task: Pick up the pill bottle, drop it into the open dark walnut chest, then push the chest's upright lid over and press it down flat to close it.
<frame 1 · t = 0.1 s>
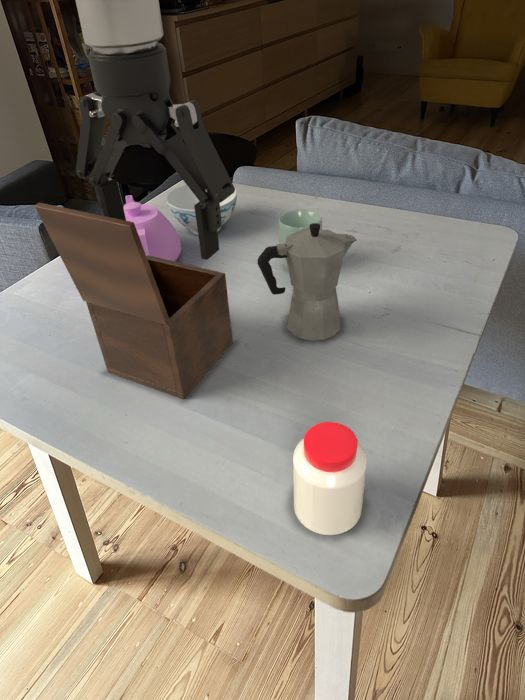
hand: (163, 243, 65), 23 cm above the table, tool pointing down, fingers open, 13 cm apart
chinaware: (206, 229, 118), on the table
teapot: (144, 261, 108), on the table
cup: (300, 267, 103), on the table
lid: (105, 266, 65), point 21 cm above the table, hinge at 100.0°
coffeepot: (307, 327, 88), on the table
chest: (171, 357, 84), on the table
pill bottle: (327, 506, 61), on the table
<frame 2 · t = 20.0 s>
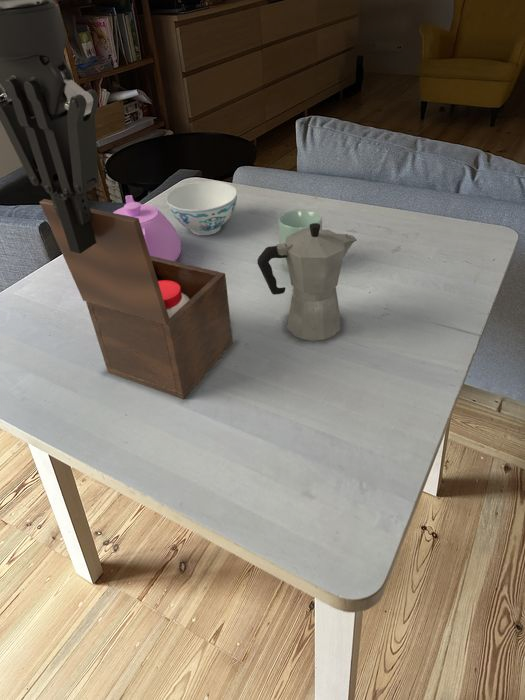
hand: (83, 246, 61), 25 cm above the table, tool pointing down, fingers closed
lid: (107, 264, 65), point 21 cm above the table, hinge at 96.7°, touching gripper
pill bottle: (173, 350, 84), point 1 cm above the table, touching chest
everything else where it was.
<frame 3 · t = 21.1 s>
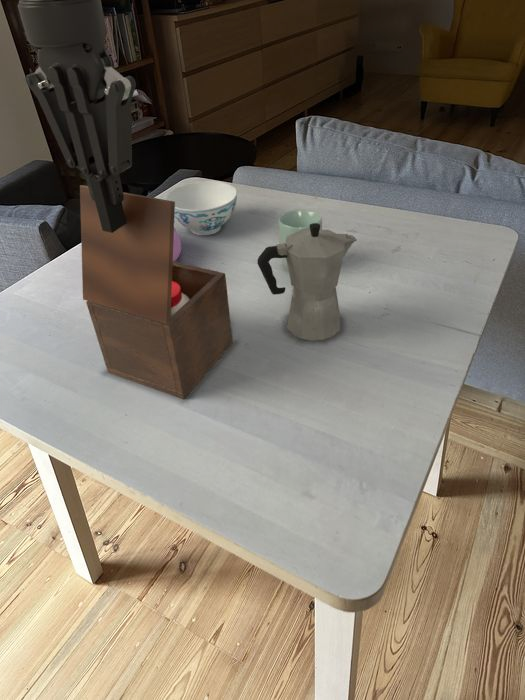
hand: (114, 226, 65), 25 cm above the table, tool pointing down, fingers closed
lid: (125, 254, 68), point 21 cm above the table, hinge at 71.1°
everything else where it was.
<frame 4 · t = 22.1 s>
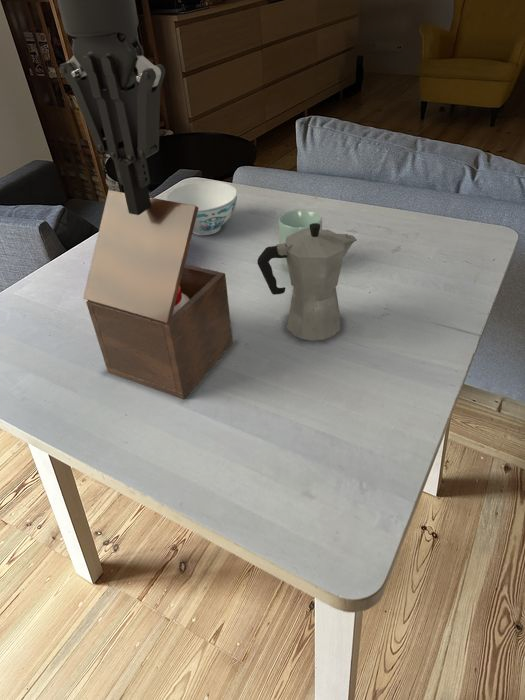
hand: (140, 209, 68), 25 cm above the table, tool pointing down, fingers closed
lid: (138, 254, 70), point 19 cm above the table, hinge at 51.1°, touching gripper
everything else where it was.
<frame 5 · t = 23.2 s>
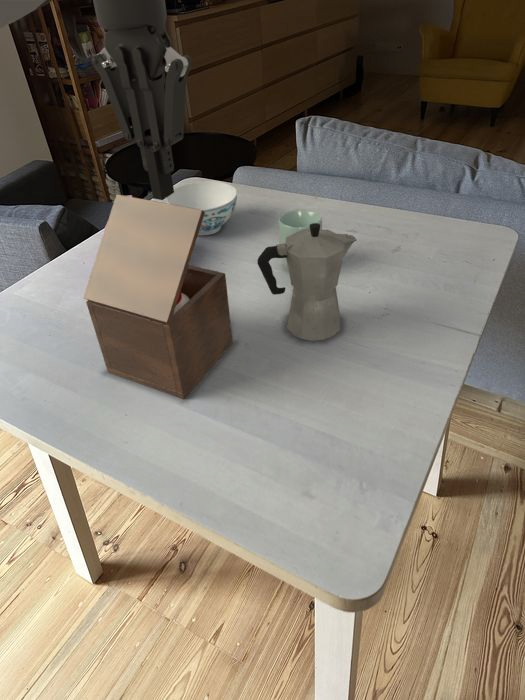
hand: (163, 195, 71), 25 cm above the table, tool pointing down, fingers closed
lid: (142, 256, 71), point 19 cm above the table, hinge at 44.7°, touching gripper
everything else where it was.
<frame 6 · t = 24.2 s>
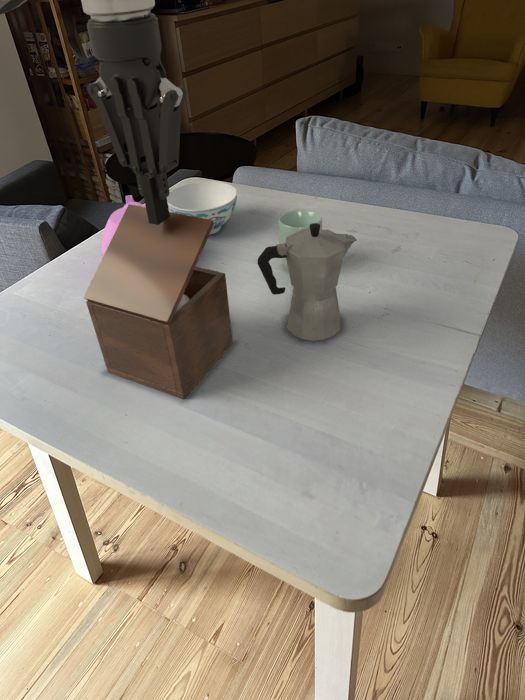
hand: (159, 219, 72), 22 cm above the table, tool pointing down, fingers closed
lid: (148, 260, 72), point 18 cm above the table, hinge at 33.4°, touching gripper
everything else where it was.
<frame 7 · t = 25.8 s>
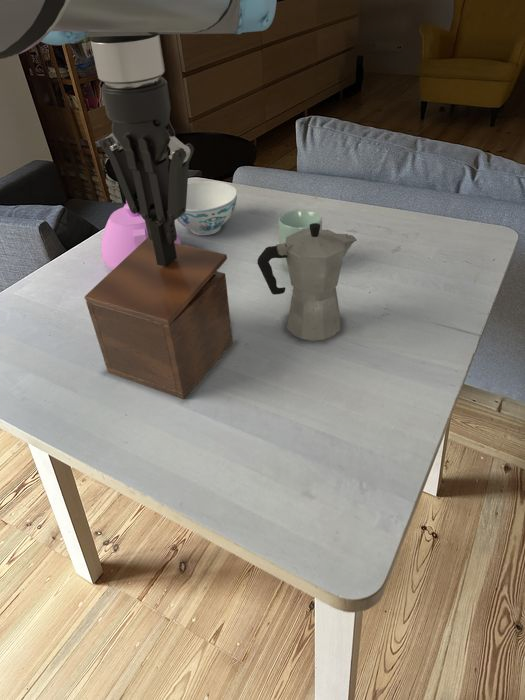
hand: (167, 261, 76), 16 cm above the table, tool pointing down, fingers closed
lid: (157, 277, 75), point 14 cm above the table, hinge at 6.8°, touching gripper
everything else where it was.
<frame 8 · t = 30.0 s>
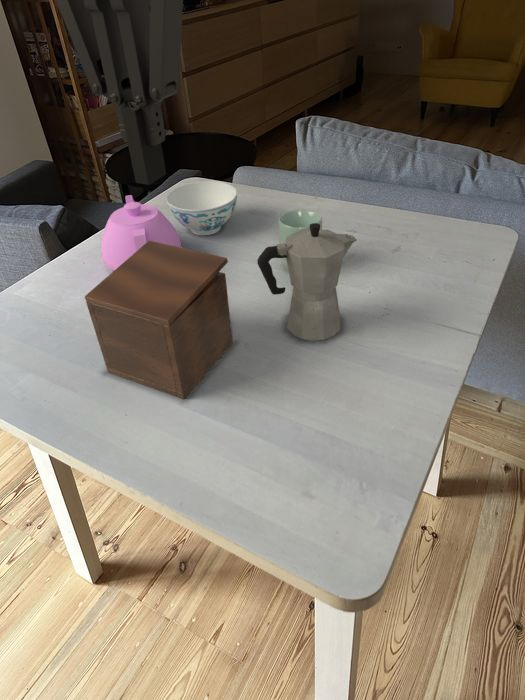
hand: (151, 178, 50), 34 cm above the table, tool pointing down, fingers closed
lid: (158, 279, 75), point 14 cm above the table, hinge at 4.6°
everything else where it was.
at the end: pill bottle inside the target area in the chest (0.8 cm from its centre), point 0.8 cm above the chest's base; lid at +5° (first picture: +100°) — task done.
